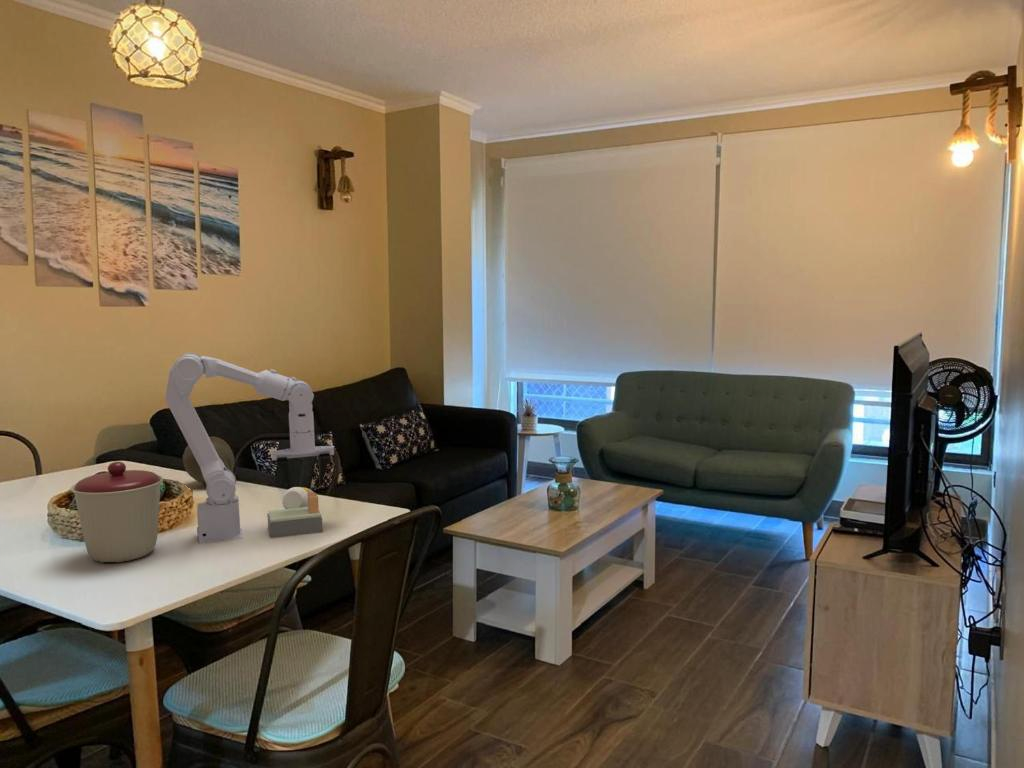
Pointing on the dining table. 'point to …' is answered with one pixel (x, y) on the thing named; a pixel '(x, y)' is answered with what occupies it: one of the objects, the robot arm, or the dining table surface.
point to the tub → (294, 527)
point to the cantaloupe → (222, 451)
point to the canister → (119, 513)
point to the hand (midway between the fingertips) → (304, 486)
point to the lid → (297, 511)
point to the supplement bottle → (296, 497)
